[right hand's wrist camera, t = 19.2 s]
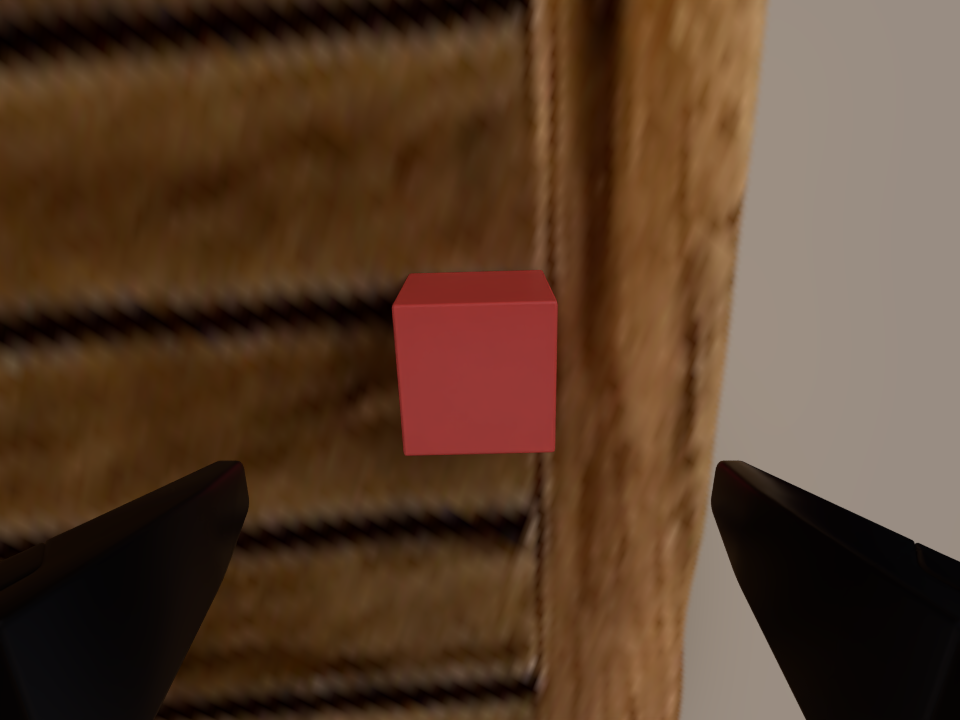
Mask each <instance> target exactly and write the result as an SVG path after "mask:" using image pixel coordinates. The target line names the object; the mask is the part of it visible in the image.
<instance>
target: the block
mask: <svg viewBox="0 0 960 720" xmlns="http://www.w3.org/2000/svg"><path fill="white" fill-rule="evenodd" d="M557 314H558V303H557V300H556V298H555V296H554V294H553V292H552V290H551V288H550V286H549V284H548V282H547V280H546V277H545V275H544V273H543V271H541V270H525V271H488V272H452V273H415V274H409V275H408V277H407V279H406V281H405V283H404V285H403V287H402V289H401V290H400V292H399V294H398V296H397V298H396V300H395V302H394V304H393V306H392V317H393V329H394V341H395V353H396V365H397V378H398V390H399V402H400V414H401V426H402V439H403V451H404V454H405V455H406V456H415V455H456V454H497V453H537V452H554V450H555V423H556V369H557Z"/></svg>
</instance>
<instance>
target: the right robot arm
mask: <svg viewBox="0 0 960 720" xmlns="http://www.w3.org/2000/svg"><path fill="white" fill-rule="evenodd" d="M248 507H249V496H248V490H247V483H246V477H245V471H244V467H243V465H242V463H241V462H240V461H217V462H215V463H213V464H211V465H209V466H206V467H204V468H202V469H200V470H198V471H196V472H193V473H191V474H189V475H187V476H185V477H183V478H181V479H178V480H176V481H174V482H172V483H170V484H168V485H165V486H163V487H161V488H159V489H157V490H155V491H153V492H150V493H148V494H146V495H144V496H142V497H140V498H137V499H135V500H133V501H131V502H129V503H127V504H125V505H122V506H120V507H118V508H116V509H114V510H112V511H109V512H107V513H105V514H103V515H101V516H99V517H96V518H94V519H92V520H90V521H88V522H86V523H84V524H81V525H79V526H77V527H75V528H73V529H71V530H68V531H66V532H64V533H62V534H60V535H58V536H56V537H53V538H51V539H49V540H47V541H46V543H45V544H44V543H40V544H38V545H36V546H34V547H32V548H29V549H27V550H25V551H23V552H21V553H19V554H16V555H14V556H12V557H10V558H7V559H5V560H3V561H1V562H0V720H154V719H155V717H156V715H157V713H158V711H159V708H160V706H161V704H162V702H163V700H164V698H165V696H166V694H167V692H168V690H169V688H170V686H171V684H172V682H173V680H174V678H175V676H176V674H177V672H178V670H179V668H180V666H181V664H182V662H183V660H184V658H185V656H186V654H187V652H188V650H189V648H190V646H191V644H192V642H193V640H194V638H195V636H196V634H197V632H198V630H199V628H200V626H201V624H202V622H203V620H204V618H205V616H206V614H207V612H208V609H209V607H210V605H211V603H212V601H213V599H214V597H215V595H216V593H217V591H218V589H219V587H220V585H221V583H222V581H223V578H224V576H225V573H226V571H227V568H228V565H229V562H230V560H231V557H232V554H233V551H234V548H235V546H236V543H237V540H238V537H239V534H240V531H241V529H242V526H243V523H244V520H245V517H246V515H247V512H248ZM711 507H712V512H713V515H714V517H715V520H716V523H717V526H718V529H719V532H720V534H721V537H722V540H723V543H724V546H725V548H726V551H727V554H728V557H729V560H730V562H731V565H732V568H733V571H734V573H735V576H736V578H737V581H738V583H739V585H740V587H741V589H742V591H743V593H744V595H745V597H746V599H747V601H748V603H749V605H750V607H751V609H752V612H753V614H754V616H755V618H756V619H757V622H758V624H759V626H760V628H761V630H762V632H763V634H764V636H765V638H766V640H767V642H768V644H769V646H770V648H771V650H772V652H773V654H774V656H775V658H776V660H777V662H778V664H779V666H780V668H781V670H782V672H783V674H784V676H785V678H786V680H787V682H788V684H789V686H790V688H791V690H792V692H793V694H794V696H795V698H796V700H797V702H798V704H799V706H800V709H801V711H802V713H803V715H804V717H805V719H806V720H960V562H959V561H957V560H955V559H952V558H950V557H948V556H946V555H943V554H941V553H939V552H937V551H935V550H933V549H931V548H928V547H926V546H924V545H922V544H920V543H916V544H915V543H914V541H913V540H911V539H909V538H907V537H904V536H902V535H900V534H898V533H896V532H894V531H892V530H889V529H887V528H885V527H883V526H881V525H879V524H876V523H874V522H872V521H870V520H868V519H866V518H863V517H861V516H859V515H857V514H855V513H853V512H851V511H848V510H846V509H844V508H842V507H840V506H838V505H835V504H833V503H831V502H829V501H827V500H825V499H823V498H820V497H818V496H816V495H814V494H812V493H810V492H807V491H805V490H803V489H801V488H799V487H797V486H795V485H792V484H790V483H788V482H786V481H784V480H782V479H779V478H777V477H775V476H773V475H771V474H769V473H767V472H764V471H762V470H760V469H758V468H756V467H754V466H751V465H749V464H747V463H745V462H743V461H720V462H719V463H718V465H717V467H716V471H715V477H714V483H713V490H712V496H711Z"/></svg>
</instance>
